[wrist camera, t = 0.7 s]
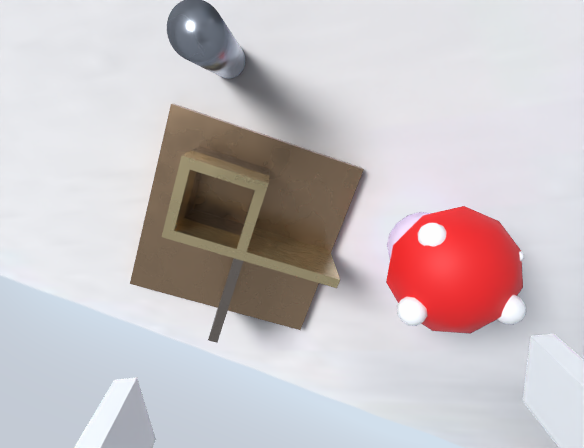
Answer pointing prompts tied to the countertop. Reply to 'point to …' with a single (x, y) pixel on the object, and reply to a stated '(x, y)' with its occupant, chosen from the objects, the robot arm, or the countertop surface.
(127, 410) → the robot arm
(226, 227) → the square socket plate
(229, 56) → the pin
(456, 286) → the mushroom
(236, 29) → the countertop surface
